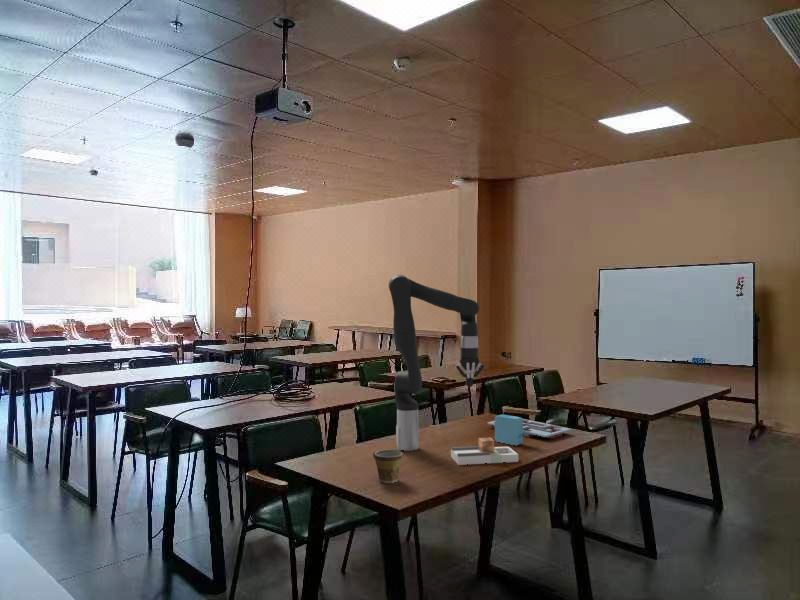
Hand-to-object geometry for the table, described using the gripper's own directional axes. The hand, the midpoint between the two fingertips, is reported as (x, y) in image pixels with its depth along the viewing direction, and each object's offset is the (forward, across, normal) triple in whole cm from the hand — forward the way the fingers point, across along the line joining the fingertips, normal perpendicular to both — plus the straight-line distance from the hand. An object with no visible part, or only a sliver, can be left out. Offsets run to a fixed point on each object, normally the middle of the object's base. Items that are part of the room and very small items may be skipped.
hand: (469, 386), depth 250 cm
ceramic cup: (+27, -41, -34) cm, 60 cm away
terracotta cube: (+24, +3, -15) cm, 28 cm away
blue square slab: (+27, +20, +7) cm, 35 cm away
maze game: (+28, +37, +26) cm, 53 cm away
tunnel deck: (+27, +2, -15) cm, 31 cm away
